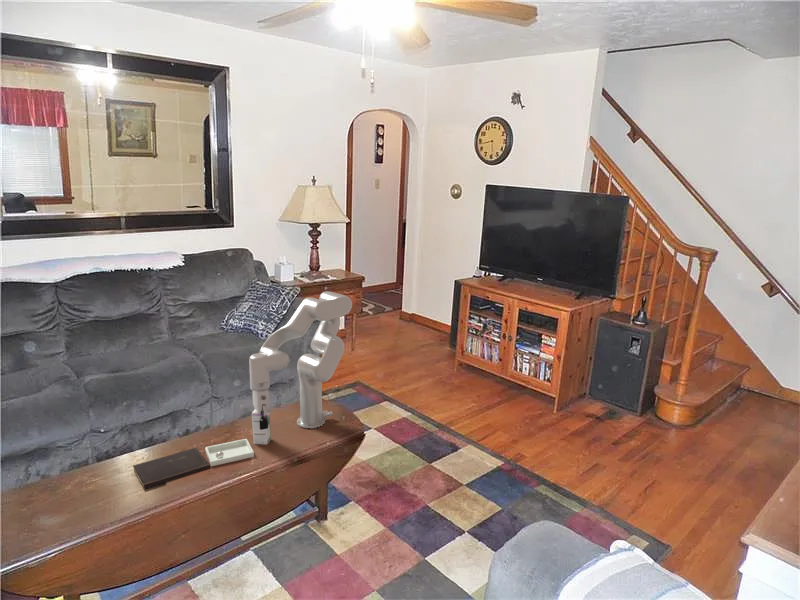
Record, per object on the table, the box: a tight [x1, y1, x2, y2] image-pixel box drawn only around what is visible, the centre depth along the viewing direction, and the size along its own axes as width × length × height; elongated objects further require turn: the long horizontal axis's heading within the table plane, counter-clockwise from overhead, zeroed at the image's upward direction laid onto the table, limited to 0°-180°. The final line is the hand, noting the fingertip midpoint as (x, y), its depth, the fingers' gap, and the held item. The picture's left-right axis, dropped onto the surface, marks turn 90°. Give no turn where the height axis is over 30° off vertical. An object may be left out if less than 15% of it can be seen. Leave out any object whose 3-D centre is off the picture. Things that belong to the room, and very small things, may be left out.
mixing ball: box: [216, 451, 224, 459], centre depth 206 cm, size 3×3×3 cm
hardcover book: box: [132, 447, 211, 491], centre depth 200 cm, size 16×23×2 cm
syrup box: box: [251, 409, 272, 445], centre depth 219 cm, size 6×6×14 cm
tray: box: [205, 438, 255, 467], centre depth 210 cm, size 16×12×2 cm
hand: (261, 424), depth 219 cm, fingers closed on syrup box, 7 cm apart
